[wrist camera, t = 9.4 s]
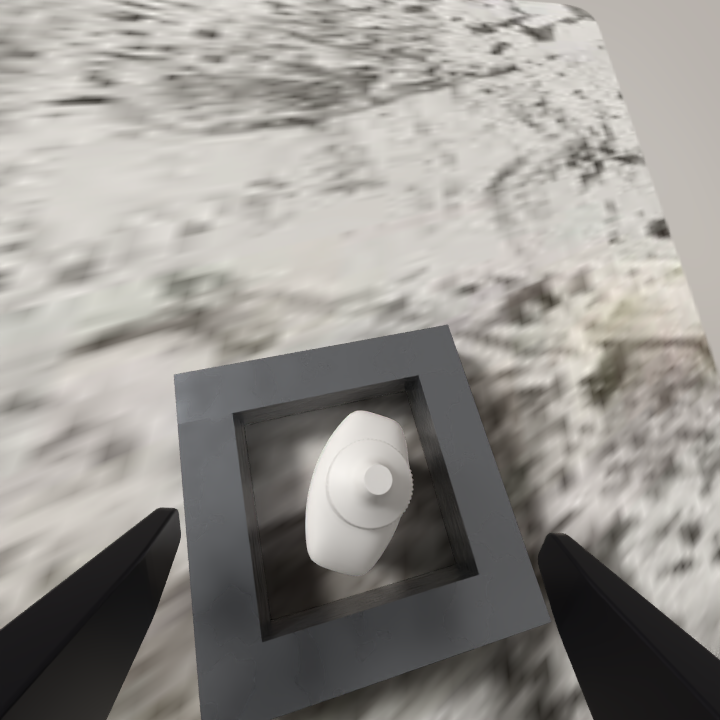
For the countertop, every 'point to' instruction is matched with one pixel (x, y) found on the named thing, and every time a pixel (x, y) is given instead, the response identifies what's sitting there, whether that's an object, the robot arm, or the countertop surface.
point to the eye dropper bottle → (358, 493)
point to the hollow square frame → (365, 610)
